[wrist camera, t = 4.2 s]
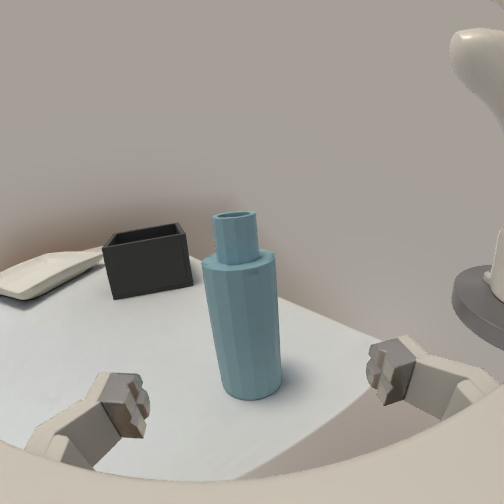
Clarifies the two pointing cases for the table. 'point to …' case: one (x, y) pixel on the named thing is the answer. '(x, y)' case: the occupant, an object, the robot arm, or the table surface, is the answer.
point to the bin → (147, 261)
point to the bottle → (243, 307)
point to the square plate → (45, 273)
